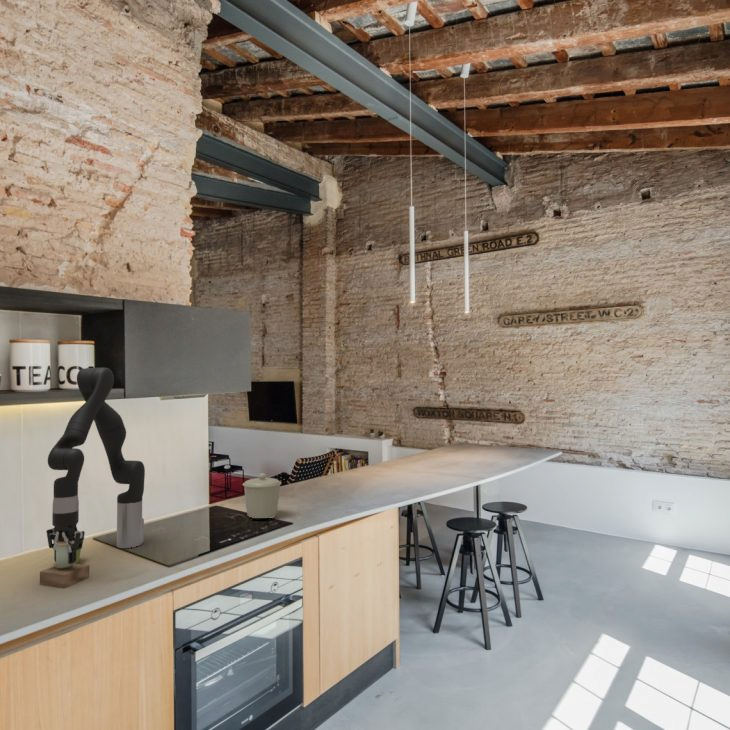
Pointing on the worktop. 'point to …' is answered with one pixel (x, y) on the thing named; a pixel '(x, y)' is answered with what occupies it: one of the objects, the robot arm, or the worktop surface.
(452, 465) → the worktop surface
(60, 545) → the jar
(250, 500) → the canister
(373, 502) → the worktop surface
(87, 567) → the plinth
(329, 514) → the worktop surface
